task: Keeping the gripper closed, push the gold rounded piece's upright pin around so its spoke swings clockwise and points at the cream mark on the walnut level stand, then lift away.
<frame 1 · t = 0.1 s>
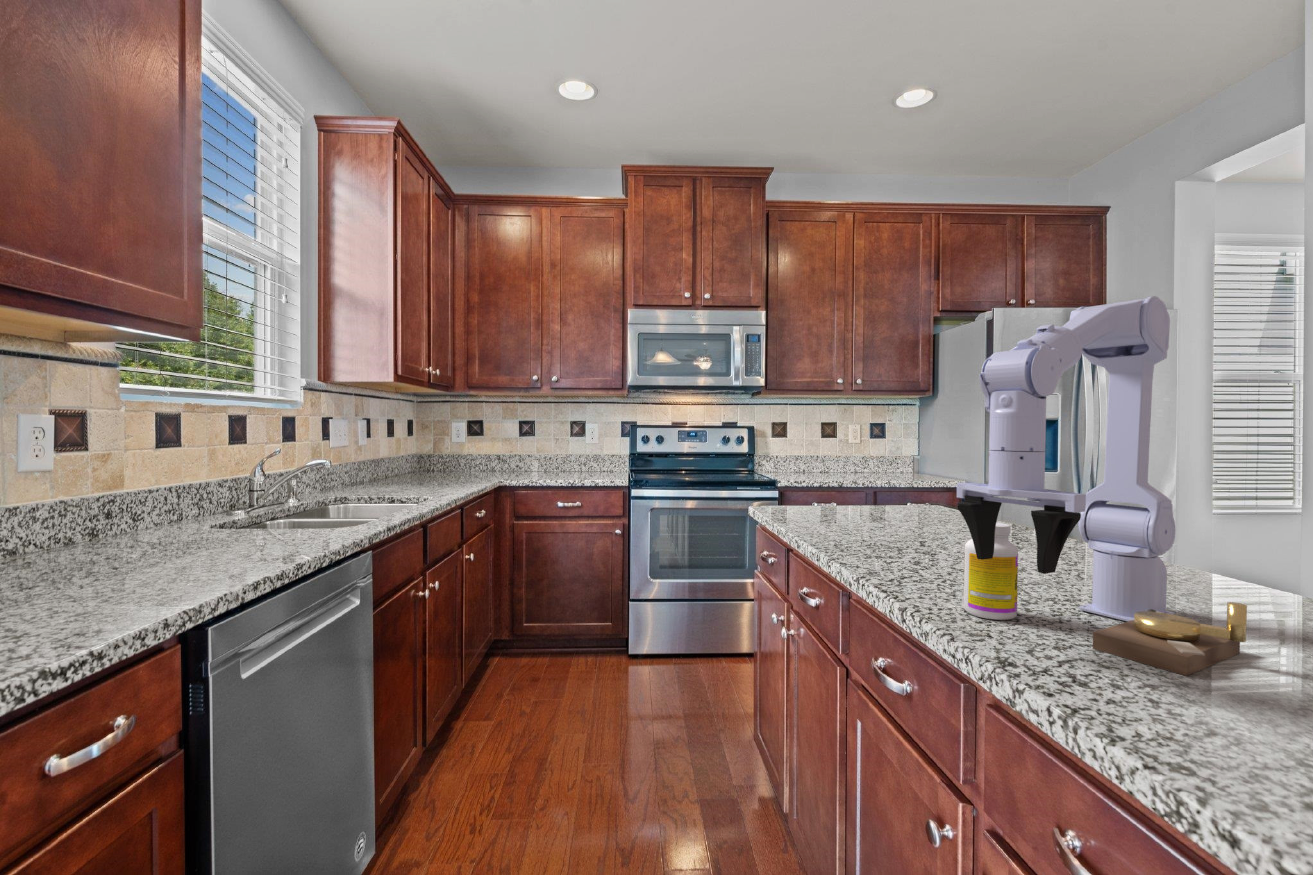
hand: (1014, 565, 72), 10 cm above the counter, tool pointing down, fingers open, 7 cm apart
level stand: (1165, 650, 72), on the counter
supplement bottle: (989, 615, 86), on the counter
gold rounded piece: (1187, 616, 71), point 5 cm above the counter, hinge at 110.0°
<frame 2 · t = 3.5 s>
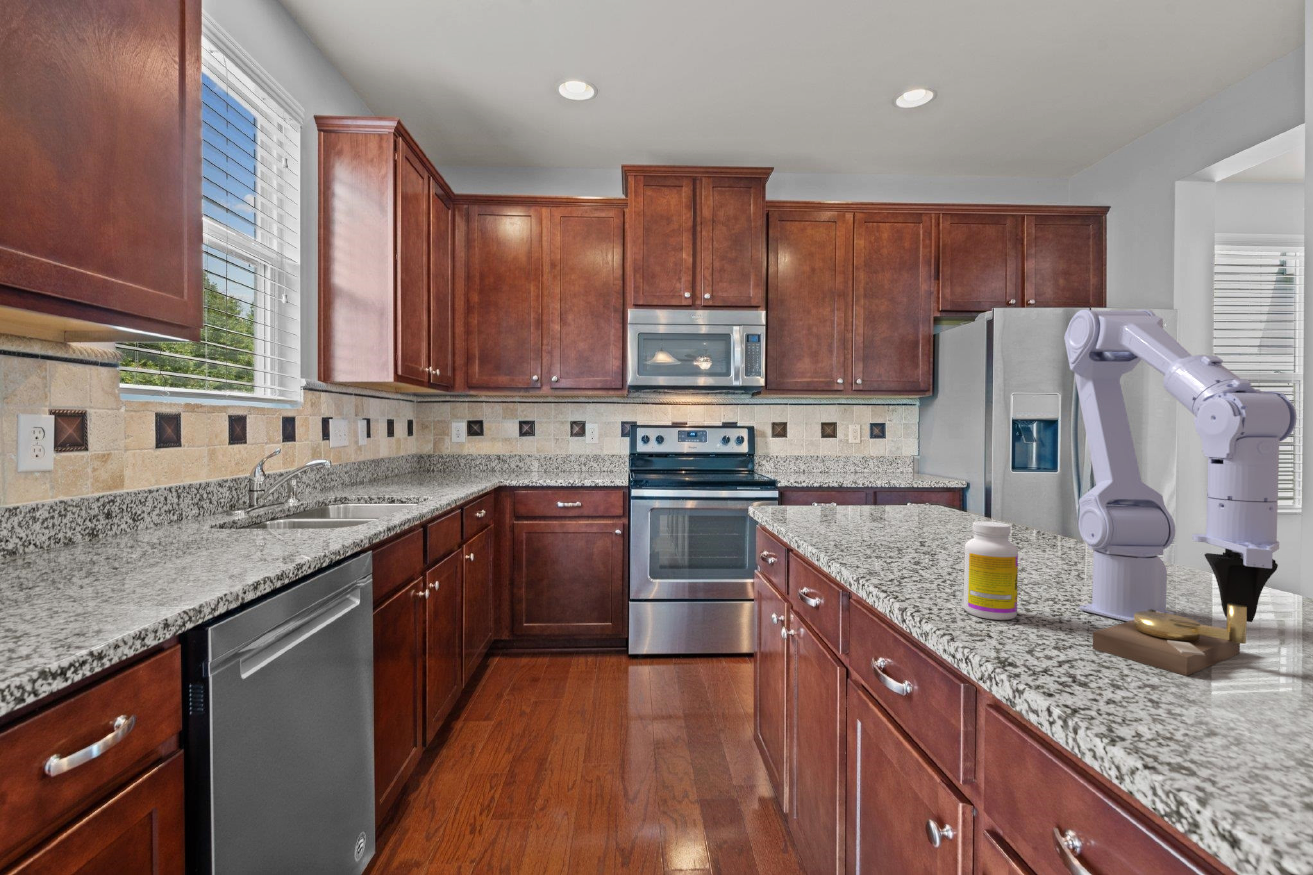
hand: (1238, 619, 68), 5 cm above the counter, tool pointing down, fingers closed, pressing on gold rounded piece
gold rounded piece: (1187, 616, 70), point 5 cm above the counter, hinge at 103.9°, touching gripper
everything else where it was.
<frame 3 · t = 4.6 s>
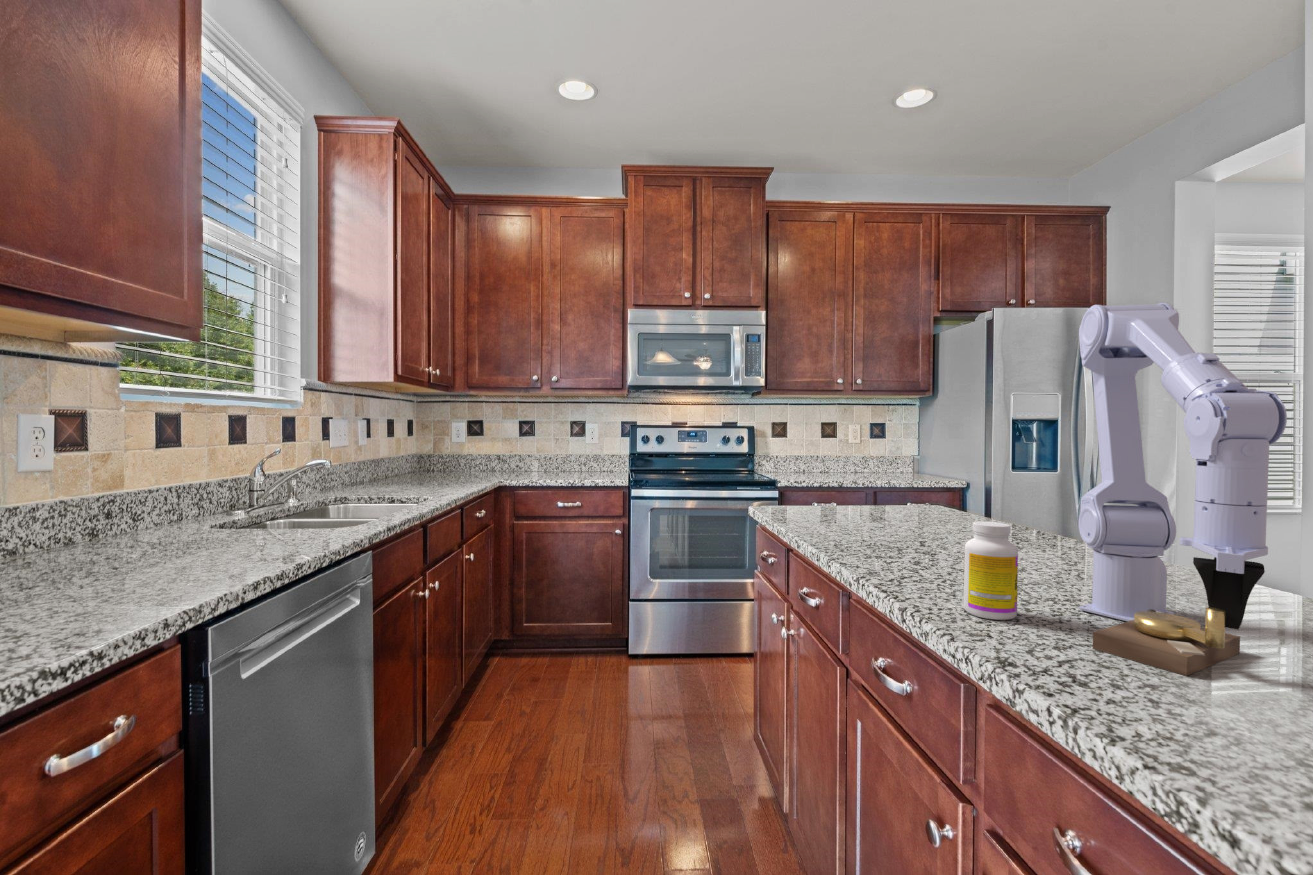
hand: (1225, 626, 66), 5 cm above the counter, tool pointing down, fingers closed, pressing on gold rounded piece
gold rounded piece: (1181, 617, 70), point 5 cm above the counter, hinge at 62.7°, touching gripper
everything else where it was.
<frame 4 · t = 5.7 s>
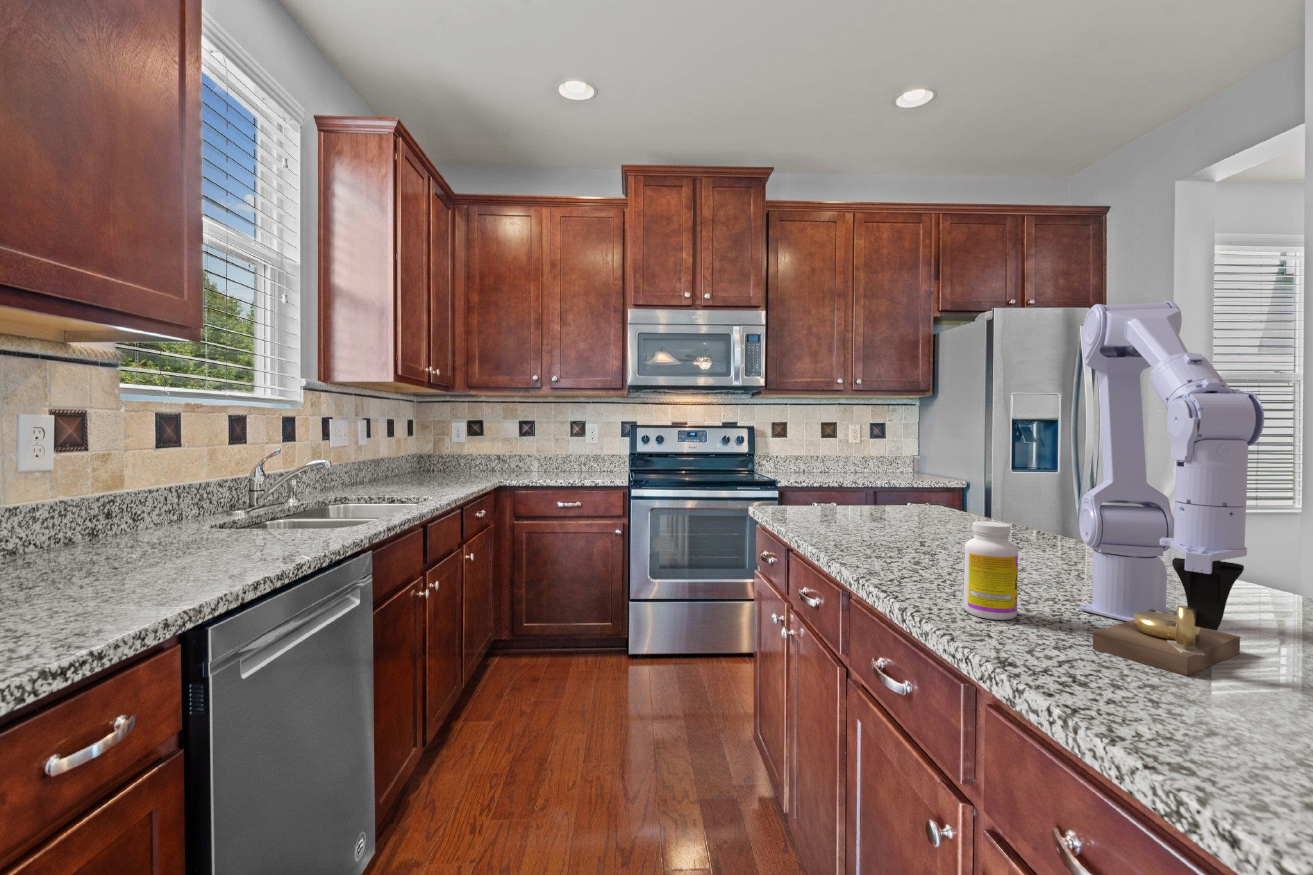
hand: (1205, 627, 66), 5 cm above the counter, tool pointing down, fingers closed, pressing on gold rounded piece
gold rounded piece: (1172, 617, 70), point 5 cm above the counter, hinge at 36.5°, touching gripper
everything else where it was.
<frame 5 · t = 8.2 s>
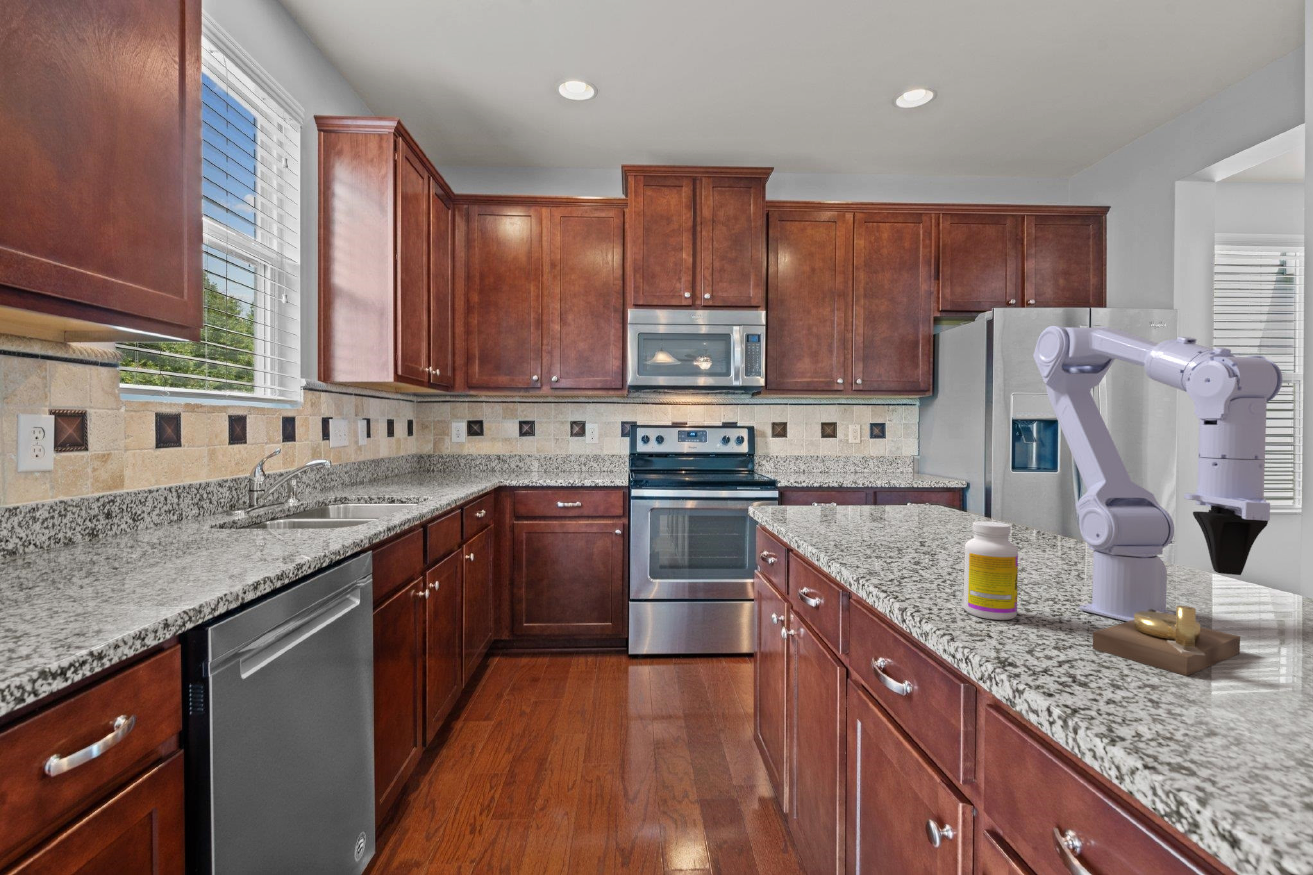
hand: (1227, 573, 72), 9 cm above the counter, tool pointing down, fingers closed
gold rounded piece: (1172, 617, 70), point 5 cm above the counter, hinge at 36.0°
everything else where it was.
at the end: gold rounded piece at +36° (first picture: +110°); supplement bottle moved 0.2 cm from its start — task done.
